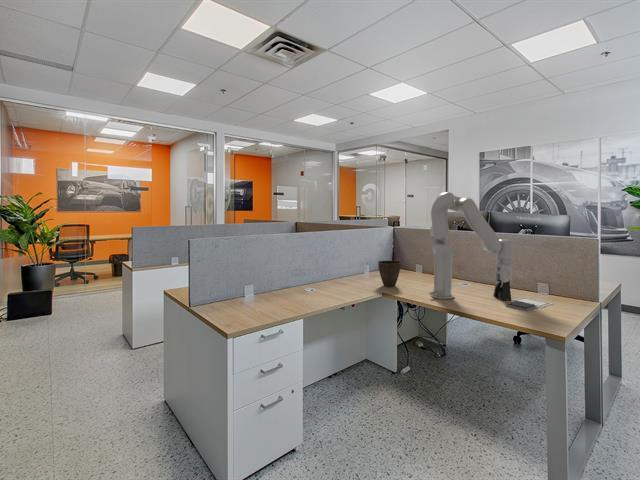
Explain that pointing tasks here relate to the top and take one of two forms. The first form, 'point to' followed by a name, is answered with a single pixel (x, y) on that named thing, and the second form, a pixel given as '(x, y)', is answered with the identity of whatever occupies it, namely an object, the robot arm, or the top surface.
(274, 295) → the top surface
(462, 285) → the top surface
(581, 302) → the top surface
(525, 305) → the ink pad
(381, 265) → the plant pot
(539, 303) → the print sheet
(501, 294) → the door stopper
